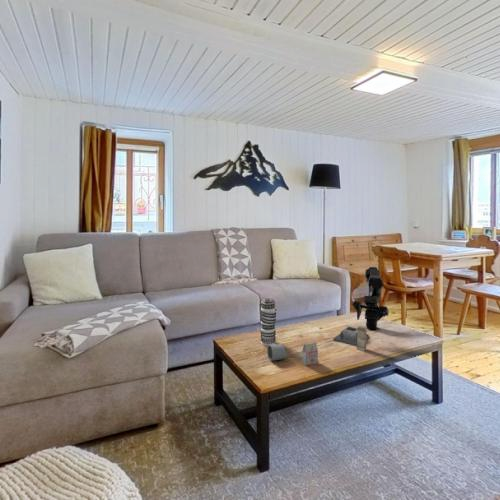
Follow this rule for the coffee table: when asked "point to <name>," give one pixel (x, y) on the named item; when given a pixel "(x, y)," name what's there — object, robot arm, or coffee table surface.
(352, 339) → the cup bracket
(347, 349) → the coffee table surface
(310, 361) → the small box
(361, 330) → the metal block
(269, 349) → the ceramic mug
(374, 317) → the robot arm
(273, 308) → the decorative candle
